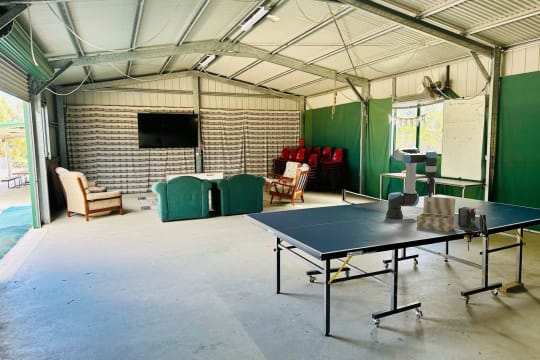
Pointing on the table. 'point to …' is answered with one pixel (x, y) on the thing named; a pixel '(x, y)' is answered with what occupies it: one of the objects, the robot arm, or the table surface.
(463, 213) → the tampon box
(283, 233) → the table surface
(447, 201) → the flap
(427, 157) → the robot arm
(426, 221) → the open wooden box
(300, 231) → the table surface
